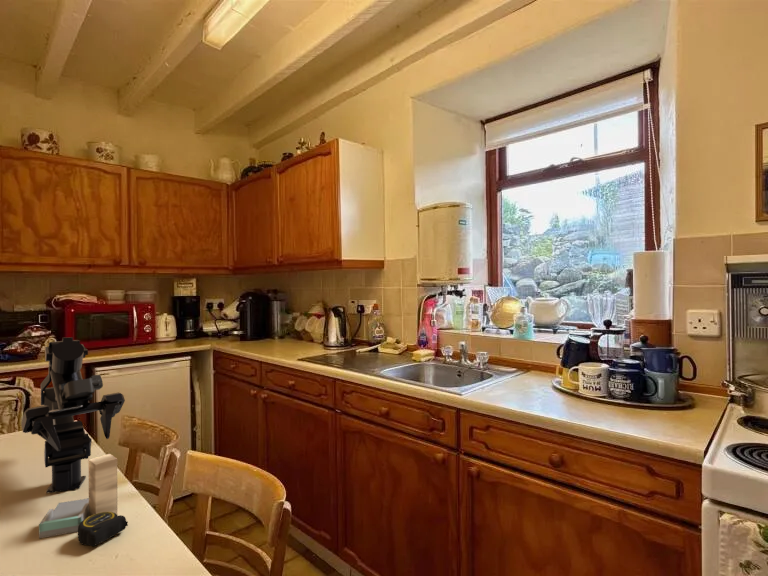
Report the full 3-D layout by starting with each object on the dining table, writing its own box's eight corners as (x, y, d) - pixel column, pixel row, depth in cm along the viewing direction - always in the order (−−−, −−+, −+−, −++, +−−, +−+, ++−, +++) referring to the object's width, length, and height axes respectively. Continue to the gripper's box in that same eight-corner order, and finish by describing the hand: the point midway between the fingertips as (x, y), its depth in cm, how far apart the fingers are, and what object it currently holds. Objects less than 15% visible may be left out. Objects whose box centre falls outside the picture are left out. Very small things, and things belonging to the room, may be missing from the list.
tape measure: (92, 553, 79) (92, 532, 79) (69, 543, 82) (69, 524, 82) (128, 533, 86) (128, 514, 86) (105, 525, 88) (105, 507, 88)
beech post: (88, 516, 92) (88, 459, 91) (110, 508, 95) (109, 453, 95) (95, 523, 89) (95, 464, 89) (117, 514, 92) (117, 458, 92)
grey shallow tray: (58, 508, 95) (58, 495, 95) (95, 502, 97) (95, 490, 97) (39, 538, 84) (39, 524, 84) (81, 530, 86) (81, 517, 86)
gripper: (24, 371, 92) (38, 436, 85) (121, 359, 106) (140, 413, 99) (15, 401, 97) (28, 464, 90) (110, 385, 111) (127, 439, 105)
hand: (84, 443), depth 96 cm, fingers open, 9 cm apart
